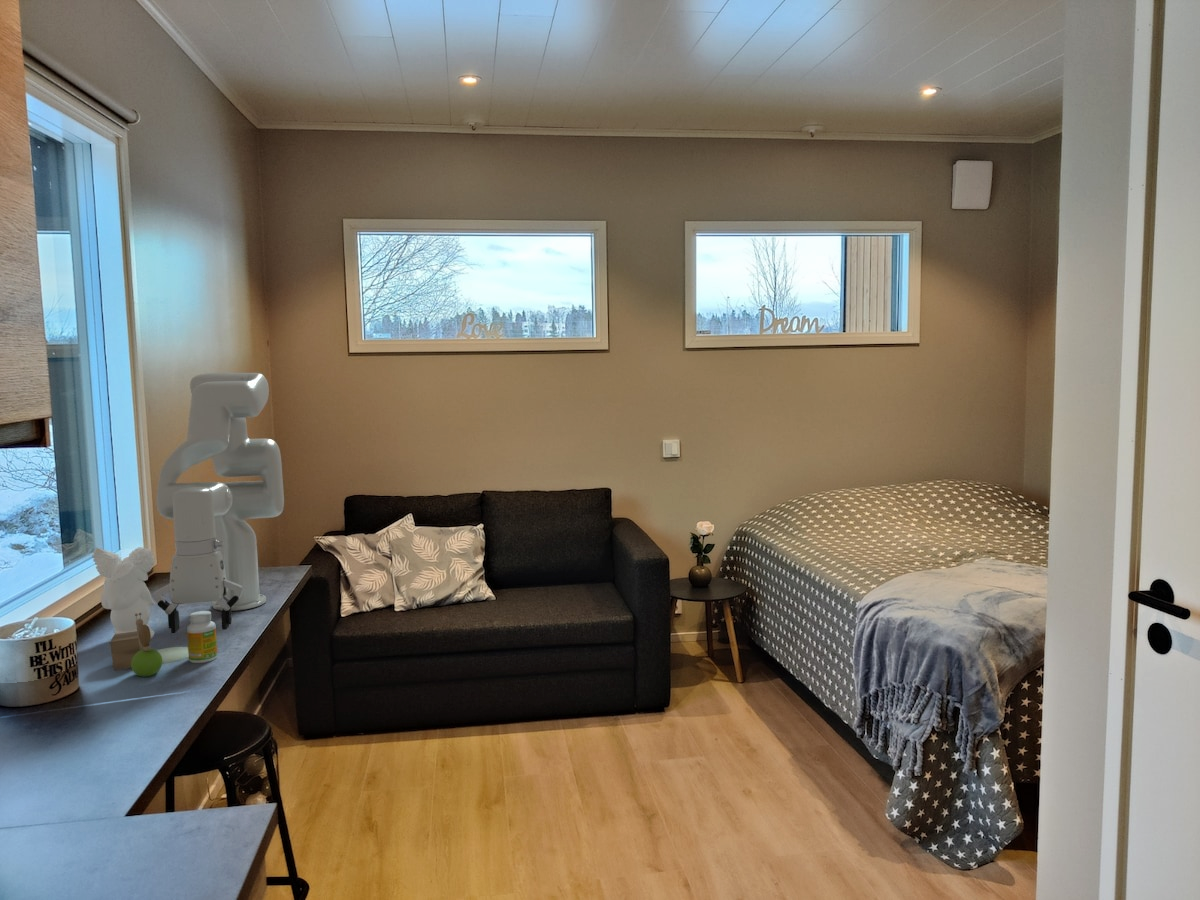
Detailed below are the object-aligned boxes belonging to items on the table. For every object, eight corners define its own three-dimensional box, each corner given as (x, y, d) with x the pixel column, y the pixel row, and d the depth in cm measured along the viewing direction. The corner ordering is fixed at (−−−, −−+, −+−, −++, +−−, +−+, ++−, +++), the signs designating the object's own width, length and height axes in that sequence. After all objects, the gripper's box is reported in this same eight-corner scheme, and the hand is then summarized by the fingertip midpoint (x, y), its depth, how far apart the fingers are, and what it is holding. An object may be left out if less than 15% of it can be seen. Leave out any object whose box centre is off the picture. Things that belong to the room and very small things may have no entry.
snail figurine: (156, 667, 168) (152, 609, 167) (167, 675, 164) (163, 616, 163) (126, 674, 165) (122, 615, 163) (136, 683, 160) (132, 622, 159)
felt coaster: (150, 650, 179) (149, 648, 179) (199, 647, 180) (199, 645, 180) (133, 667, 169) (133, 665, 169) (186, 663, 171) (186, 661, 171)
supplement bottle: (206, 664, 169) (203, 618, 168) (182, 663, 170) (179, 616, 169) (223, 655, 174) (220, 610, 173) (200, 654, 175) (197, 609, 174)
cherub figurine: (157, 630, 193) (151, 536, 191) (166, 644, 183) (159, 545, 181) (96, 640, 186) (89, 544, 184) (102, 656, 176) (94, 553, 174)
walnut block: (118, 662, 171) (114, 634, 170) (145, 658, 173) (142, 630, 172) (113, 670, 166) (110, 641, 166) (141, 666, 168) (138, 637, 167)
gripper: (245, 542, 175) (249, 621, 176) (156, 546, 172) (161, 627, 173) (236, 548, 168) (241, 631, 169) (143, 553, 164) (149, 638, 166)
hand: (200, 629), depth 171 cm, fingers open, 9 cm apart
